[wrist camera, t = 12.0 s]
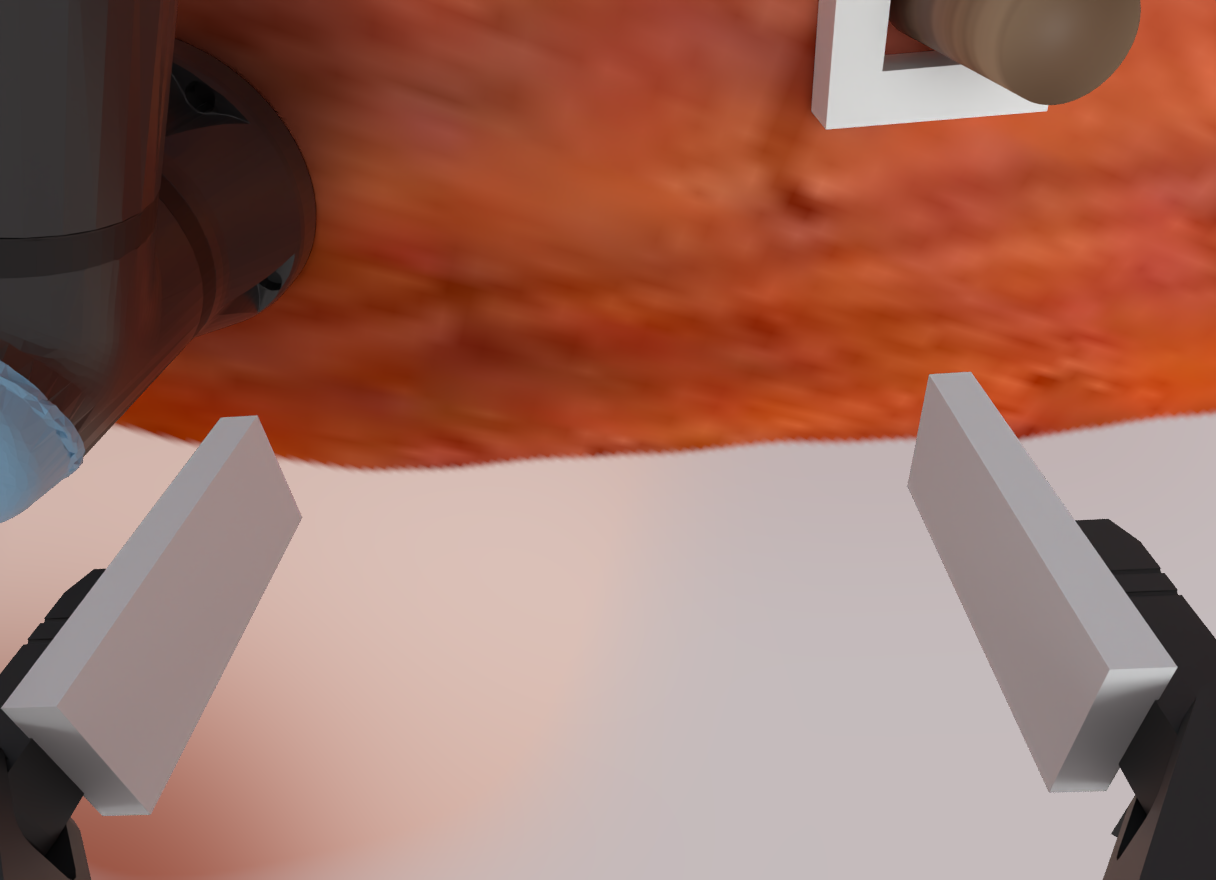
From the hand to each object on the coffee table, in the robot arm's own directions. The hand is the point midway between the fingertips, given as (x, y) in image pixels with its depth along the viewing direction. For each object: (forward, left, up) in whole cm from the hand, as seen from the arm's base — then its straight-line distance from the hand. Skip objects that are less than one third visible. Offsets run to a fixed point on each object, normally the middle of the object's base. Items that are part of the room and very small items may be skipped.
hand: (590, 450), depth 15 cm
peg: (+15, +4, -29) cm, 33 cm away
